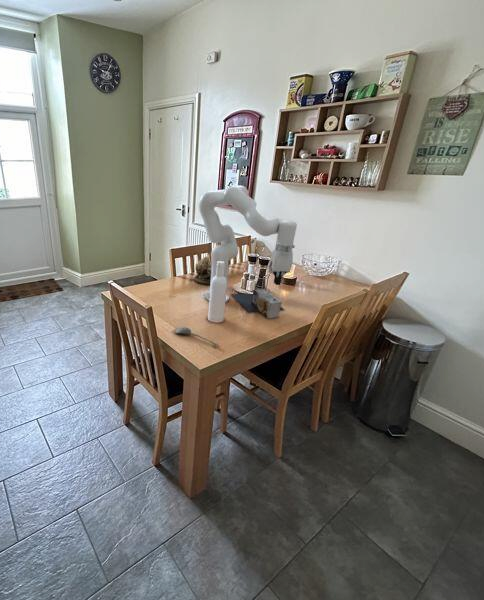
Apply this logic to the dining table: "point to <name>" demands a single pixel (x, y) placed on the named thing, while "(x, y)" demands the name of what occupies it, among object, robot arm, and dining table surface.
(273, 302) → the coffee box
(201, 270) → the owl figurine
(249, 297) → the mat
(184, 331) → the soupspoon
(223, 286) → the bottle
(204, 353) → the dining table surface
